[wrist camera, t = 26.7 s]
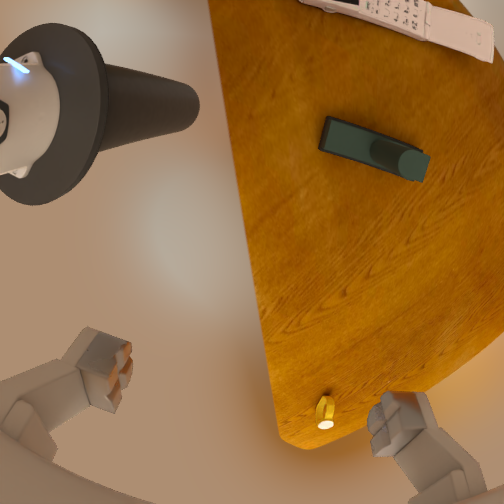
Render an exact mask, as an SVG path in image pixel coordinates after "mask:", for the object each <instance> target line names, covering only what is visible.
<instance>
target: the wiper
mask: <svg viewBox="0 0 504 504" xmlns="http://www.w3.org/2000/svg"><path fill="white" fill-rule="evenodd" d="M318 149H319V150H320V151H324V152H327V153H331V154H334V155H337V156H341V157H344V158H347V159H350V160H354V161H357V162H360V163H363V164H366V165H369V166H372V167H375V168H378V169H381V170H383V171H386V172H389V173H392V174H395V175H397V176H400V177H403V178H405V179H407V180H410V181H414V180H417V181H419V182H423V180H424V177H425V173H426V170H427V167H428V164H429V161H430V156H428V155H426V154H424V153H423V150H421V149H419V148H416V147H414V146H412V145H409V144H407V143H404V142H402V141H399V140H397V139H394V138H392V137H389V136H386V135H384V134H381V133H378V132H376V131H373V130H370V129H367V128H364V127H361V126H359V125H356V124H353V123H350V122H346V121H343V120H340V119H337V118H334V117H330V116H327V117H326V121H325V124H324V128H323V132H322V136H321V140H320V143H319V147H318Z"/></svg>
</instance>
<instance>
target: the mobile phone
mask: <svg viewBox="0 0 504 504" xmlns="http://www.w3.org/2000/svg"><path fill="white" fill-rule="evenodd" d="M299 1H300V2H301V3H304V4H308V5H312V6H316V7H319V8H322V9H323V10H324V11H326V12H330V13H335V12H338V13H342V14H345V15H349V16H352V17H356V18H359V19H362V20H365V21H368V22H371V23H374V24H377V25H380V26H383V27H386V28H389V29H391V30H394V31H397V32H400V33H402V34H405V35H407V36H410V37H412V38H415V39H417V40H420V41H430V42H433V43H436V44H440V45H443V46H446V47H449V48H452V49H454V50H457V51H460V52H463V53H465V54H468V55H471V56H474V57H475V58H477V59H479V60H482V61H487V62H490V63H492V62H493V56H494V30H493V25H492V24H489V23H487V22H486V21H484V20H481V19H478V18H473V17H470V16H467V15H464V14H461V13H458V12H454V11H451V10H447V9H443V8H440V7H436V6H433V7H432V6H431V4H430V3H429V2H425V1H423V0H299ZM439 8H440V9H439Z"/></svg>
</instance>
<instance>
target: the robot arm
mask: <svg viewBox="0 0 504 504" xmlns="http://www.w3.org/2000/svg"><path fill="white" fill-rule="evenodd" d="M3 60H5V61H7V62H8V63H3V64H0V175H3V174H6V173H10V174H12V175H14V176H16V177H18V178H24V177H26V176H27V175H28V173H29V171H30V169H31V167H32V165H33V163H34V162H35V161H36V160H37V159H39V158H40V157H41V156H42V155H43V154H44V153H45V152H46V150H47V149H48V147H49V146H50V144H51V142H52V140H53V138H54V135H55V133H56V129H57V126H58V121H59V114H60V99H59V92H58V88H57V85H56V82H55V80H54V78H53V77H52V75H51V74H50V73H49V72H48V71H47V70H46V69H45V67H44V66H43V62H42V59H41V56H40V54H39V52H30V53H28V54H26V55H23V56H21V57H19V58H17V59H15V60H12V59H10V58H9V57H4V59H3ZM27 61H28V62H27ZM131 352H132V346H131V343H130V342H128V341H125V340H123V339H120V338H117V337H114V336H112V335H109V334H106V333H103V332H101V331H98V330H95V329H93V328H90V327H86V328H84V329H83V330H82V331H81V333H80V334H79V335H78V337H77V338H76V339H75V341H74V342H73V343H72V345H71V346H70V347H69V349H68V350H67V352H66V353H65V355H64V356H63V357H62V359H61V360H58V359H55V360H52V361H50V362H48V363H45V364H42V365H40V366H38V367H35V368H33V369H30V370H28V371H26V372H23V373H21V374H18V375H16V376H13V377H11V378H8V379H6V380H3V381H1V382H0V504H154V503H151V502H148V501H144V500H141V499H138V498H135V497H132V496H129V495H126V494H123V493H121V492H118V491H115V490H113V489H110V488H107V487H105V486H102V485H100V484H98V483H95V482H93V481H90V480H88V479H86V478H84V477H82V476H79V475H77V474H75V473H73V472H71V471H69V470H67V469H65V468H63V467H61V466H59V465H57V464H55V463H53V462H52V460H53V458H54V456H55V454H56V452H57V449H58V448H57V445H56V443H55V442H54V440H53V439H52V437H51V436H50V434H49V432H51V431H52V430H54V429H55V428H57V427H58V426H60V425H62V424H63V423H65V422H67V421H68V420H70V419H71V418H73V417H74V416H76V415H77V414H79V413H81V412H82V411H84V410H85V409H87V408H88V407H90V405H92V406H95V407H97V408H100V409H102V410H105V411H108V412H111V413H114V414H115V412H116V410H117V408H118V405H119V403H120V401H121V399H122V395H121V390H123V389H125V388H126V387H127V386H128V384H129V382H130V378H131V375H132V369H133V360H132V359H131V358H130V354H131ZM380 399H381V402H380V403H378V404H376V405H374V406H373V408H372V409H371V410H370V412H369V415H368V418H367V426H368V431H369V432H370V433H371V434H372V435H373V437H372V439H371V441H370V443H371V448H372V453H373V457H389V456H394V457H393V458H394V459H395V461H396V462H397V464H398V465H399V466H400V468H401V469H402V470H403V472H404V473H405V474H406V476H407V477H408V479H409V480H410V481H411V483H412V484H413V485H414V487H415V488H416V489H417V491H418V492H419V494H417V495H416V496H414V497H412V498H411V499H410V500H409V501H408V504H504V484H503V485H501V486H498V487H496V488H494V489H491V490H489V491H487V488H486V484H485V481H484V478H483V474H482V471H481V468H480V465H479V463H478V462H477V461H476V460H475V459H474V458H473V457H472V456H471V455H470V454H468V452H467V451H466V450H464V449H463V448H462V447H461V446H460V445H459V444H458V443H457V442H456V441H455V440H454V439H453V438H452V437H451V436H450V435H449V434H448V433H447V432H445V431H444V430H443V429H442V428H438V425H437V422H436V419H435V417H434V414H433V411H432V409H431V406H430V403H429V400H428V398H427V396H426V394H425V393H424V392H404V391H387V392H385V393H384V394H383V395H382V396H381V397H380Z"/></svg>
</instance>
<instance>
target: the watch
mask: <svg viewBox="0 0 504 504" xmlns="http://www.w3.org/2000/svg"><path fill="white" fill-rule="evenodd" d="M325 404H327V408H326V414H325V418H324V419H322V417H323V409H324V406H325ZM333 413H334V400H333V398H332V397H331V396H322V398H321V400H320V401H319V403H318V405H317V408H316V413H315V421H316V425H317V426H318V427H319V428H321V429H328V428H330V427H332V426H333V425H334V420H333V419H332V418H333Z"/></svg>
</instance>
